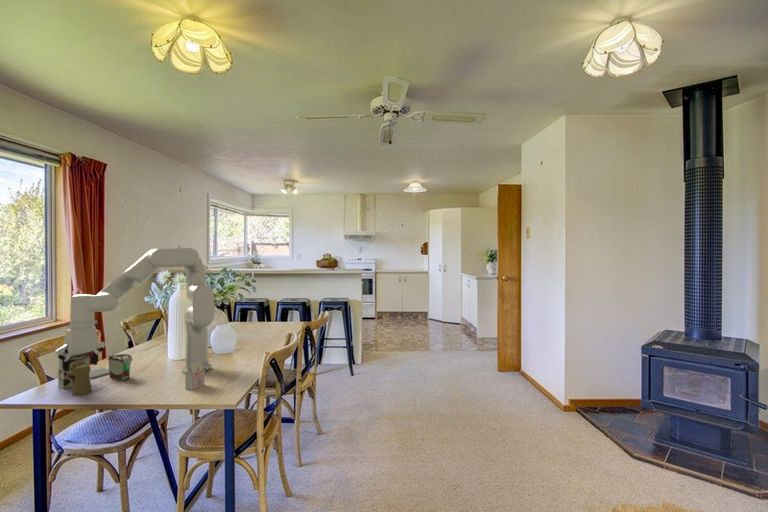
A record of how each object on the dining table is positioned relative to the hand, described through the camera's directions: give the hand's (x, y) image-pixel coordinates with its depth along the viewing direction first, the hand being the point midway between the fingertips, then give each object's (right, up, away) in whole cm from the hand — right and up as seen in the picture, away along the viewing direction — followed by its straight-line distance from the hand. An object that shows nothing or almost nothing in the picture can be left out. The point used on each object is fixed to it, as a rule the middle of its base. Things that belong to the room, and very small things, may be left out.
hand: (80, 367), depth 147 cm
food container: (+4, -11, +19) cm, 22 cm away
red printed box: (+42, -11, +8) cm, 44 cm away
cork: (0, -11, 0) cm, 11 cm away
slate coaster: (-12, -10, +23) cm, 28 cm away
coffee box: (-11, -11, +10) cm, 18 cm away
